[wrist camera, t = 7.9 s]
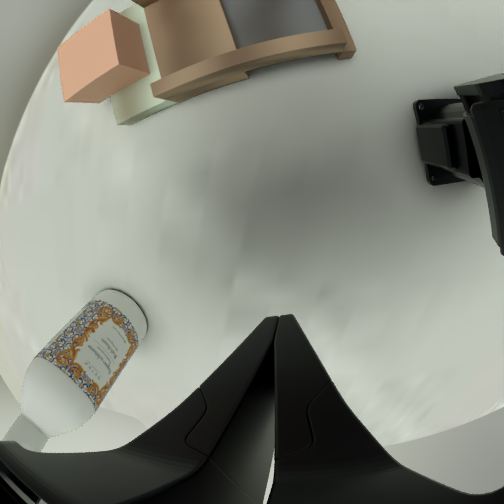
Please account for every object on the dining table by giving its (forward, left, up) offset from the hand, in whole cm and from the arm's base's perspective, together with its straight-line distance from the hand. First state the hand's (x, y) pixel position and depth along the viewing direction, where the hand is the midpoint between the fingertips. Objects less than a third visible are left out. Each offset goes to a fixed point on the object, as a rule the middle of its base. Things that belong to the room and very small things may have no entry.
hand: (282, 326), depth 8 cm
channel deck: (+2, -15, -13) cm, 20 cm away
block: (+9, -15, -11) cm, 21 cm away
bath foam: (+20, +7, -13) cm, 25 cm away
